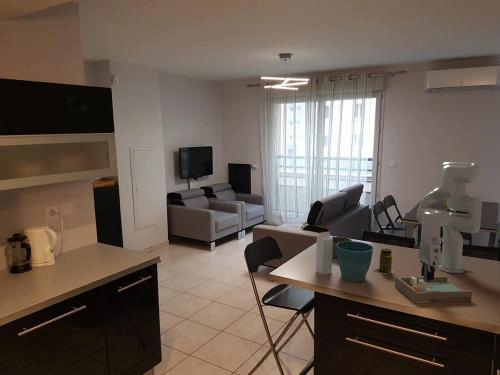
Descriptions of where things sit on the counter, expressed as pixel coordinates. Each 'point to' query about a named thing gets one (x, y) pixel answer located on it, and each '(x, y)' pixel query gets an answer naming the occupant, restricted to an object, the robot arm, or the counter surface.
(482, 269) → the counter surface
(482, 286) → the counter surface
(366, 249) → the flower pot
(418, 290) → the ball
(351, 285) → the counter surface
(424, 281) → the striker
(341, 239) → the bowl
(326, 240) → the milk
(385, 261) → the condiment
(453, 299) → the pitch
